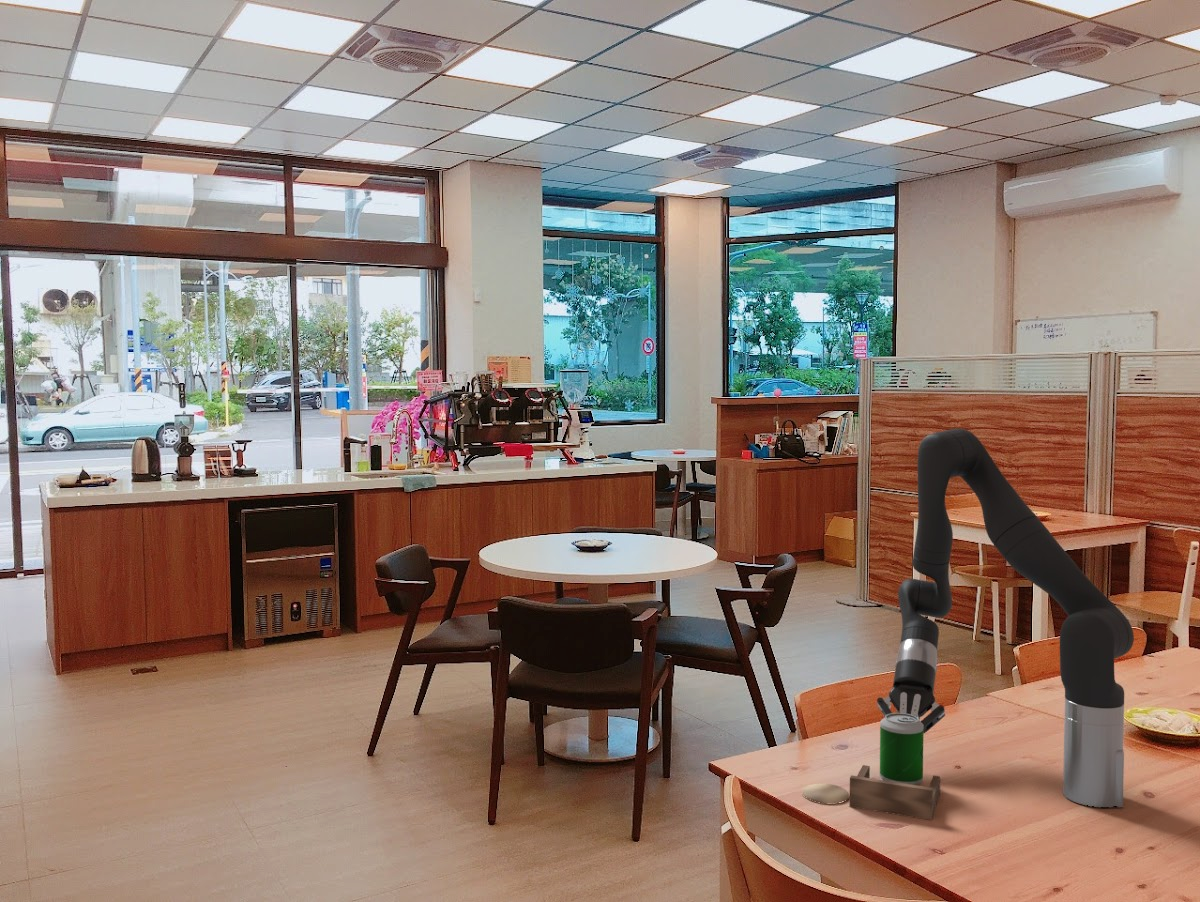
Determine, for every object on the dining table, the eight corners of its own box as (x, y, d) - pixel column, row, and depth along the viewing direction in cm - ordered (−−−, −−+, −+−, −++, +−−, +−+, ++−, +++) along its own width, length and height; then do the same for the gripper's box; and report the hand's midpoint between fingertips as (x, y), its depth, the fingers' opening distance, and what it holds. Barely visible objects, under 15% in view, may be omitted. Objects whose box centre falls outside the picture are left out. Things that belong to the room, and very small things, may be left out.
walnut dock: (939, 793, 175) (940, 765, 175) (931, 820, 164) (931, 790, 164) (862, 781, 181) (863, 754, 180) (849, 806, 169) (849, 777, 169)
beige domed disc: (852, 790, 176) (852, 787, 176) (843, 807, 169) (843, 804, 169) (808, 783, 180) (808, 780, 180) (797, 799, 172) (797, 796, 172)
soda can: (925, 792, 175) (926, 725, 175) (881, 789, 177) (881, 723, 176) (920, 777, 183) (921, 712, 182) (878, 773, 184) (879, 710, 184)
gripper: (878, 654, 194) (866, 735, 184) (950, 661, 188) (941, 745, 178) (883, 673, 199) (871, 753, 189) (952, 681, 193) (944, 764, 183)
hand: (905, 749), depth 183 cm, fingers closed
